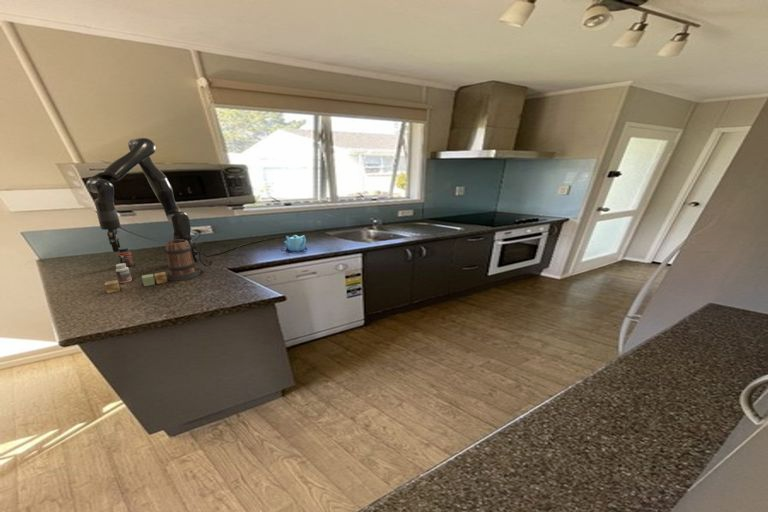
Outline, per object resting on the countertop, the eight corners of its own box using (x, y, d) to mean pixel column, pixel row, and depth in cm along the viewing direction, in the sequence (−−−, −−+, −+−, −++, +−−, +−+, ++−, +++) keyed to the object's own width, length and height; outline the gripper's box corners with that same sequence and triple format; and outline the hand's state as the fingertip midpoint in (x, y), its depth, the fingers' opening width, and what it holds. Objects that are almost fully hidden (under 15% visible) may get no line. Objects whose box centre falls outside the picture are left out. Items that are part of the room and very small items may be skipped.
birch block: (120, 288, 147) (117, 279, 145) (119, 291, 144) (117, 282, 142) (108, 290, 144) (105, 282, 143) (107, 293, 141) (104, 285, 139)
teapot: (306, 251, 211) (305, 237, 208) (285, 252, 208) (283, 238, 204) (306, 245, 225) (306, 232, 222) (287, 246, 222) (285, 233, 219)
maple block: (166, 279, 159) (165, 271, 157) (167, 281, 155) (165, 274, 154) (156, 281, 156) (154, 273, 154) (156, 284, 152) (154, 276, 151)
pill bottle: (118, 281, 155) (113, 264, 152) (130, 278, 159) (126, 262, 156) (120, 284, 152) (114, 266, 148) (133, 281, 155) (128, 264, 152)
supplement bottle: (126, 267, 174) (121, 250, 170) (118, 266, 175) (113, 249, 171) (136, 264, 180) (131, 247, 176) (128, 263, 181) (124, 246, 177)
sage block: (154, 281, 155) (152, 273, 154) (155, 284, 152) (153, 276, 151) (144, 283, 153) (141, 275, 151) (144, 286, 149) (141, 278, 148)
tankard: (167, 282, 154) (159, 247, 148) (164, 273, 166) (156, 240, 160) (216, 272, 169) (210, 240, 163) (209, 265, 181) (204, 234, 174)
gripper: (117, 220, 142) (125, 251, 147) (119, 216, 153) (127, 245, 158) (96, 222, 138) (105, 254, 143) (100, 217, 148) (108, 247, 153)
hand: (117, 249), depth 150 cm, fingers open, 8 cm apart
